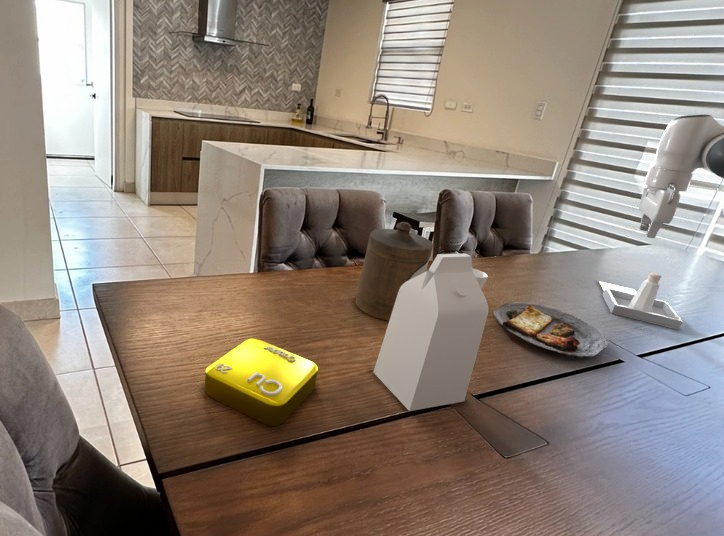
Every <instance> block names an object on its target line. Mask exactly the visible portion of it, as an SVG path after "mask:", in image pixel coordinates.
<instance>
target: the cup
mask: <svg viewBox="0 0 724 536" xmlns="http://www.w3.org/2000/svg"><path fill="white" fill-rule="evenodd" d="M472 272H473V273H474V275H475V277H476V279H477V281H478V283H479V286H480V288H481V290H482V291H483V288H484V286H485V284H486V282H487V280H488V278H489V276H488V274H487V273H486V272H485V271H482V270H480V269H477V268H473V271H472Z"/></svg>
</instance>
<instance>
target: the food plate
mask: <svg viewBox="0 0 724 536" xmlns="http://www.w3.org/2000/svg"><path fill="white" fill-rule="evenodd" d="M492 316H493V318H494V319H495V320H496V322H497V324H498V325H499V326H500V327H502V328H503V329H504V330H505V331H506V332H507V333H509V334H512V335H513V336H516V337H517V338H519V339H521V340H523V341H525V342H527V343H528V344H529V345H531V346H534V347H538V348H540V349H543V350H546V351H549V352H550V351H551V352H555V353H558V354H561V355H564V356H570V357H574V359H576V358H581V359H582V358H583V357H586V358H588V359H589V358H593V357H596V356H597V355H598V354H600V353H601V352H602V351H603V350H605V349H606V348H608V346H609V345H610V341H609V340H608V339H607V338H606V336H605V335H603V334H602V332H601V331H599V330H598V329H597V328H595V327H594V326H593V325H591V324H590V323H588V322H586V321H584V320H582V319H581V318H578V317H577V316H575V315H572V314H569V313H567V312H564V311H561V310H559V309H557V308H554V307H548V306H545V305H541V304H538V303H531V302H522V301H519V302H511V301H510V302H506V303H504V304H503V305H501V306H499V307H497V308H496V309H494V310H493V312H492Z"/></svg>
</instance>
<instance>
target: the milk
mask: <svg viewBox="0 0 724 536" xmlns="http://www.w3.org/2000/svg"><path fill="white" fill-rule="evenodd" d="M473 269H474V268H473V259H472V256H471V255H469V254H467V253H466V252H465V253H463V252H462V253H438V254H436V256H435V258H434V260H433V261H432V263H431V265H430V267H429V268H428V269H427V270H426V272H424V273H422V274H420V275H418V276H416V277H414V278H412V279H410V280H408V281H407V282H405V283H404V284H403V285H402V286H401V287H400V289H399V292H398V295H397V298H396V301H395V304H394V308H393V311H392V314H391V317H390V320H388V324H387V327H386V330H385V333H384V337H383V340H382V343H381V347H380V349H379V352H378V355H377V359H376V362H375V365H374V369H373V371H372V373H373V374H374V375H375V376H376V377H377V378H378V379H379V380H380V381H381V383H382V384H383V385H384V386H385V387H386V388H387V389H388V390H389V391H390V392H391V393H392V394H393V396H394V397H395V398H397V400H398V401H399V402H400V403H401V404H402V406H404V408H405V409H407V410H408V412H413V411H418V410H424V409H430V408H434V407H435V408H436V407H440V406H446V405H453V404H457V403H463V402H465V401H466V396H467V393H468V389H469V386H470V382H471V378H472V375H473V371H474V367H475V363H476V360H477V356H478V353H479V349H480V345H481V343H482V337H483V334H484V330H485V326H486V323H487V319H488V315H489V304H488V301H487V298H486V297H485V294H484V292H483V289H482V290H481V288H480V286H479V283H478V281H477V279H476V277H475V275H474V273H473V272H472V271H473Z"/></svg>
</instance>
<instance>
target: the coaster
mask: <svg viewBox="0 0 724 536" xmlns="http://www.w3.org/2000/svg"><path fill="white" fill-rule="evenodd" d="M598 284H599V286H600V288H601V290H602V292H603V293H604V291H605V288H610V289H615V290H619V291H623V292H627V293H632V294H636V292H637V291H636V289H634V288H630V287H624V286H621V285H617V284H612V283H607V282H603V281H598Z"/></svg>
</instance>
